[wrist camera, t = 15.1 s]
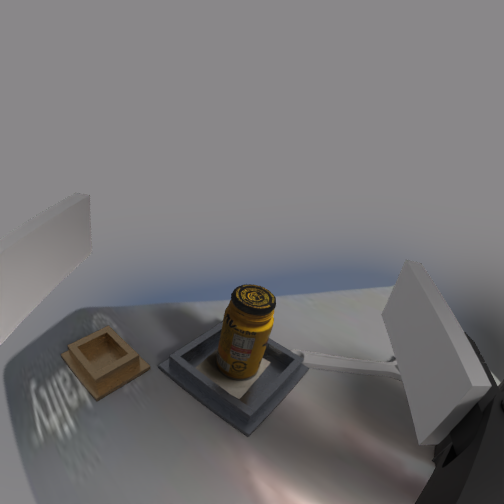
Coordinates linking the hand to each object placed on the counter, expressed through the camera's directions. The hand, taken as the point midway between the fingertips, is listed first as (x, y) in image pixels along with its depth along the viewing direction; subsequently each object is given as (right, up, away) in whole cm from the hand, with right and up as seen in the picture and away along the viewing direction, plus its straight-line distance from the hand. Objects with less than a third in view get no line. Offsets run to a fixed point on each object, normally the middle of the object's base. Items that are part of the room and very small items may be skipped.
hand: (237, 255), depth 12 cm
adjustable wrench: (+18, -19, +35) cm, 44 cm away
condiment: (-2, -16, +30) cm, 34 cm away
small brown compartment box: (-19, -15, +25) cm, 35 cm away
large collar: (-2, -16, +30) cm, 34 cm away
